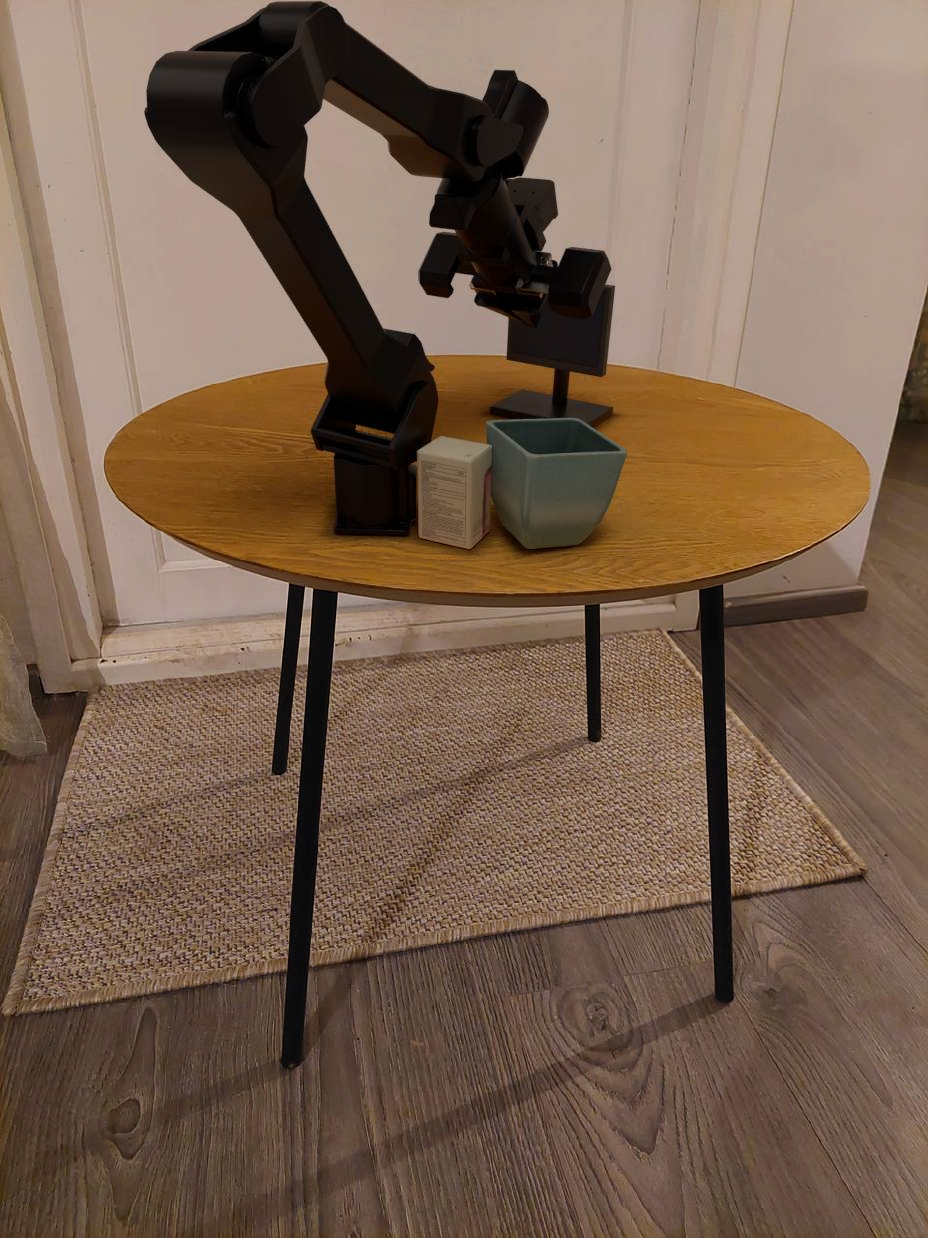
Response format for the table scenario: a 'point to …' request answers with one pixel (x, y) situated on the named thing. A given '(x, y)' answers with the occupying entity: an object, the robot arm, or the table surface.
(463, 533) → the small box
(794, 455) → the table surface
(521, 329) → the monitor screen
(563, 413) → the monitor stand
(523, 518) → the flower pot
